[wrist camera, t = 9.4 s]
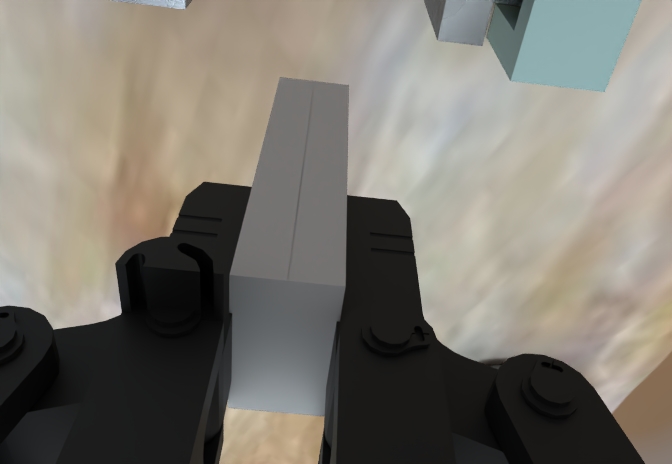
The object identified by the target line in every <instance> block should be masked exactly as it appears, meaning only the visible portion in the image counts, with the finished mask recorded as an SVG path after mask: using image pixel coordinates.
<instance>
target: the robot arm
mask: <svg viewBox="0 0 672 464" xmlns="http://www.w3.org/2000/svg"><path fill="white" fill-rule="evenodd" d="M348 104H349V85H343V84H335V83H326V82H318V81H309V80H300V79H292V78H283V77H280V79H279V83H278V87H277V91H276V95H275V99H274V103H273V107H272V111H271V115H270V118H269V122H268V126H267V130H266V134H265V138H264V142H263V146H262V150H261V154H260V158H259V161H258V165H257V169H256V173H255V177H254V181H253V185H252V187H248V186H239V185H229V184H220V183H211V182H203V183H202V184H201V185H199V186H198V187H197V188H196V189H194V190H193V191H192V192H191V193H189V194H188V195H187V196H186V198H185V200H184V203H183V205H182V208H181V210H180V212H179V217H178V218H177V220H176V222H175V225H174V227H173V231H172V233H171V234H170V237H159V238H155V239H151V240H147V241H143V242H141V243H139V244H137V245H136V246H134V247H132V248H130V249H128V250H127V251H125V253H124V254H123V255H122V256H121V257H120V258H119V260H118V261H117V262H116V263H115V265H116V272H117V279H118V287H119V294H120V301H121V308H122V313H121V315H119V316H117V317H114V318H112V319H109V320H107V321H103V322H98V323H94V324H90V325H83V326H76V327H69V328H62V329H55V330H53V328H52V326H51V325H50V323H49V322H48V320H47V319H46V317H45V316H44V315H42V314H40V313H38V312H36V311H34V310H32V309H30V308H24V307H16V306H3V307H0V464H219V461H220V456H221V450H222V445H223V420H224V415H225V410H226V405H227V400H228V408H236V409H247V410H258V411H269V412H281V413H292V414H303V415H314V416H324V415H325V420H324V431H323V437H322V443H321V449H320V455H319V461H318V464H645V463H644V461H643V460H642V458H641V457H640V455H639V454H638V452H637V451H636V449H635V448H634V446H633V445H632V443H631V442H630V441H629V439H628V437H627V436H626V434H625V433H624V432H623V430H622V429H621V427H620V426H619V424H618V423H617V422H616V420H615V418H614V417H613V415H612V414H611V412H610V411H609V409H608V408H607V406H606V405H605V403H604V402H603V400H602V399H601V398H600V396H599V395H598V393H597V392H596V390H595V389H594V387H593V386H592V385H591V384H590V383H589V382H588V381H587V380H586V379H585V378H584V377H583V375H582V374H581V373H579V372H578V371H576V370H575V369H573V368H572V367H570V366H569V365H567V364H565V363H564V362H562V361H559V360H556V359H554V358H551V357H548V356H545V355H538V354H521V355H518V356H515V357H511V358H509V359H508V360H506V361H505V362H504V363H503V364H502V365H501V366H500V367H499V369H496V368H493V367H490V366H487V365H485V364H482V363H479V362H476V361H473V360H471V359H468V358H466V357H464V356H461V355H459V354H457V353H455V352H453V351H452V350H450V349H449V348H447V347H446V346H444V345H443V344H441V343H440V342H439V341H438V339H437V338H436V336H435V333H434V331H433V328H432V327H431V326H430V325H429V324H428V323H427V322H426V321H425V320H424V316H423V312H422V304H421V297H420V289H419V282H418V274H417V267H416V259H415V256H414V253H415V251H414V244H413V240H412V237H413V236H412V229H411V221H410V217H409V216H408V215H407V213H406V212H405V211H404V209H403V208H402V207H401V205H400V204H399V203H398V202H397V201H395V200H386V199H377V198H368V197H358V196H349V195H347V166H348Z"/></svg>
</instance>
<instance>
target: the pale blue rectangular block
mask: <svg viewBox="0 0 672 464" xmlns="http://www.w3.org/2000/svg"><path fill="white" fill-rule="evenodd" d="M640 3H641V0H523V2H522V5H521V7H518V6H509V5H501V4H495V8H494V12H493V16H492V20H491V24H490V27H489V31H488V35H487V39H488V40H489V42H490V44H491V46H492V48H493V50H494V52H495V53H496V55H497V57H498V59H499V61H500V63H501V64H502V66H503V68H504V70H505V72H506V74H507V75H508V77H509V79H510V81H515V82H523V83H532V84H540V85H549V86H557V87H566V88H574V89H583V90H591V91H600V92H605V90H606V87H607V85H608V82H609V80H610V77H611V75H612V72H613V70H614V67H615V65H616V62H617V60H618V57H619V55H620V52H621V50H622V47H623V45H624V42H625V40H626V38H627V35H628V33H629V30H630V28H631V25H632V23H633V20H634V18H635V15H636V13H637V10H638V8H639V5H640Z"/></svg>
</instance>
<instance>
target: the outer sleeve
mask: <svg viewBox="0 0 672 464" xmlns="http://www.w3.org/2000/svg"><path fill="white" fill-rule="evenodd" d="M112 1H121V2H129V3H137V4H146V5H154V6H162V7H171V8H179V9H186V8H187V7H188V5H189V4H190V3H191V1H192V0H112Z"/></svg>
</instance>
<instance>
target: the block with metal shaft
mask: <svg viewBox="0 0 672 464" xmlns="http://www.w3.org/2000/svg"><path fill="white" fill-rule="evenodd" d="M424 2H425V5H426V8H427V11H428V14H429V17H430V20H431V23H432V26H433V29H434V32H435V34H436V37H437V40H438V41H446V42H454V43H462V44H471V45H479V46H482V44H483V41H484V37H485V33H486V29H487V25H488V21H489V17H490V14H491V10H492V6H493V3H501V4H509V5H517V6H521V5H522V2H523V0H424Z"/></svg>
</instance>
